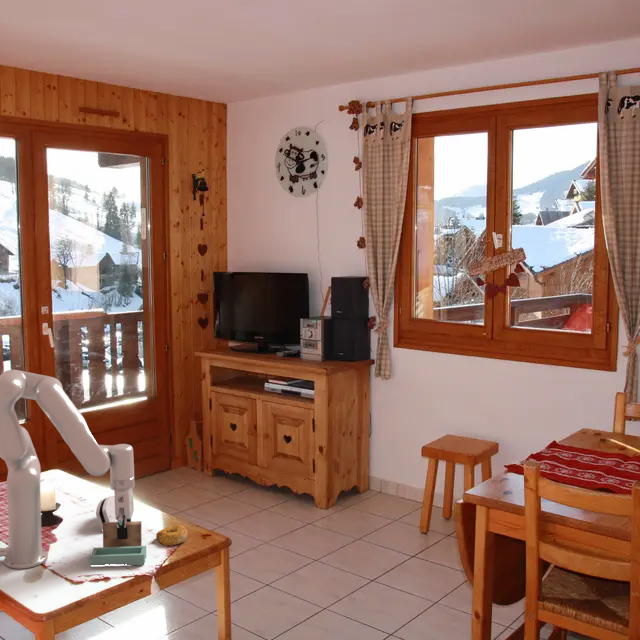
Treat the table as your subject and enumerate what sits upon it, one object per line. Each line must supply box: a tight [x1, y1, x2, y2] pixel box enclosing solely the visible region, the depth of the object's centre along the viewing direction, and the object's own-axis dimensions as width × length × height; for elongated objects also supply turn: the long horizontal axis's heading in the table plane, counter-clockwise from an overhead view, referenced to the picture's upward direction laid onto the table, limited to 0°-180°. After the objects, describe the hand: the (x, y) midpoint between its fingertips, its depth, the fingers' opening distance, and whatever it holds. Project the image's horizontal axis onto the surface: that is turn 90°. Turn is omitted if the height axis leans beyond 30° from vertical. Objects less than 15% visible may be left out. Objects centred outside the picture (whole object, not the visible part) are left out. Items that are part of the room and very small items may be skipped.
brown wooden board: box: [102, 520, 143, 547], centre depth 245 cm, size 12×2×9 cm, turn 98°
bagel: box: [155, 524, 188, 546], centre depth 254 cm, size 10×11×5 cm
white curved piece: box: [95, 495, 118, 531], centre depth 267 cm, size 17×5×10 cm, turn 3°
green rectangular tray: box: [89, 545, 147, 566], centre depth 236 cm, size 16×7×4 cm, turn 98°
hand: (124, 532), depth 245 cm, fingers open, 9 cm apart
